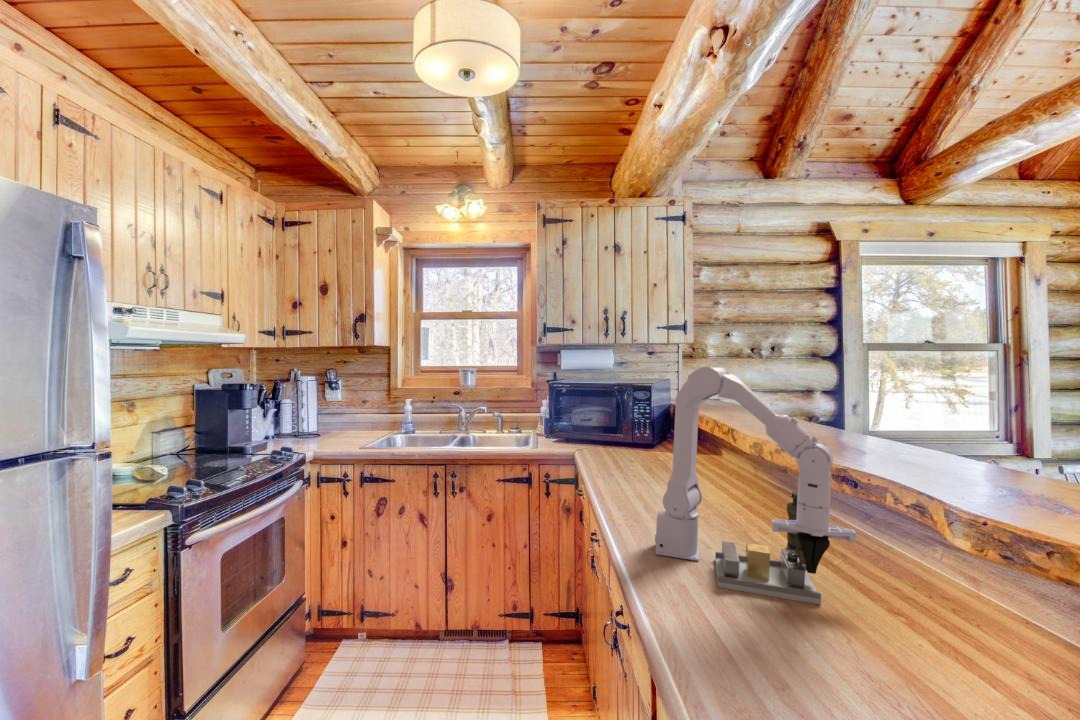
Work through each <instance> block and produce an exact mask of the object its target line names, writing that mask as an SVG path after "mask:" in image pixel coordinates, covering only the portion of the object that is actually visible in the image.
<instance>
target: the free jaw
mask: <svg viewBox="0 0 1080 720" xmlns="http://www.w3.org/2000/svg"><path fill="white" fill-rule="evenodd" d="M779 561H780V566H781V569H782V571H783V574H784V576H785V579H786V581H787V584H788V586H789V587H791V588H797V589H803V590H804V585H805V570H804V568H803V566H802V564H803V563H801V562H800V560H799V558H798V554H796V552H795V550H789V549H785V548H781V551H780V560H779Z"/></svg>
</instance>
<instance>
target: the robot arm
mask: <svg viewBox="0 0 1080 720" xmlns="http://www.w3.org/2000/svg"><path fill="white" fill-rule="evenodd" d="M717 395H718V396H717ZM714 396H717V397H719V398H724V399H729V400H733V401H735V402H736V403H738V404H739V405H740V406H741V407H743V408H744V409H745V410H747V412H749V413H750V414H752V415H753V416H754V417H755V418H756V419H757V420H758V421H759V422H761V423H762V424H763V425H765V433H766V435H767V436H768V437H769V439H771V440H772V441H773V442H774V443H776V444H777V445H778V446H779V447H780V448H781V449H783V450H784V451H785V452H786V453H787V454H788V455H789V456H790V457H792V458H795V461H796V466H797V467H798V469H799V473H798V474H799V475H798V479H797V492H798V493H797V517H796V520H789V519H774V518H771V527H770V528H771V531H772V532H773V533H774V532H775V533H779V532H784V533H788V532H789V533H796V536H797V538H798V540H799V543H800V545H801V548H802V551H803V555H804V559H805V563H804V565H806V571H807V573H808V574H812V575H813V574H814V575H815V574H817V570H818V566H819V563H820V561H821V560H822V557H823V555H824V554H825V553H826V551H827V550H828V549H829V548H830V544H831V543H830V542H831V541H830V540H829V539H835V540H842V541H843V540H844V541H848V542H850V543H856V541H857V532H856V531H855V530H854V529H852V528H847V527H841V526H837V525H832V524H830V521H831V520H830V515H831V500H832V499H831V495H832V494H831V493H832V492H831V491H832V483H831V478H832V474H831V468H832V464H833V461H834V455H833V452H832V451H831V449H830V447H828V445H827V444H826V443H824V442H822V441H819V438H818V437H817V436H816V435H813V436H812V435H811V433H809V432H807V430H805V429H804V428H803V427H802V426H800V425H799V423H800V421H799V419H797V418H796V417H795V416H793V417H790V416H789V415H787V414H778V413H776V412H775V411H774V410H773V409H772V408H771V407H770V406H769V405H768V404H767V403H765V402H764V400H762V399H761V398H760V397H759V396H758V395H757V394H756V393H755V392H754V391H753V390H751V389H750V388H749V387H748V385H746V384H745V383H744V382H743V381H742V380H740V378H738V376H736V375H734V374H732V373H730V372H729V371H728V369H726V368H725V367H722V366H719V365H717V366H716V365H715V366H711V367H710V366H702V367H698V368H697V369H696V370H694V371H693V372H691V373H690V374H688V375H687V380H686V381H685V382H684V384H683V386H682V387H681V388H680V390H679V391H678V393H677V394H676V396H675V409H674V410H675V411H674V428H673V429H674V433H673V435H674V436H673V454H672V456H673V457H672V473H671V474H670V477H669V478H668V479H669V480H668V481H667V489H666V492H665V493H664V494H663V497H662V506H663V508H664V510H663V511H662V510H658V511H657V516H656V527H655V528H656V529H655V531H656V532H655V537H654V543H655V555H660V556H665V557H672V558H676V559H684V560H690V561H697V562H698V561H700V546H699V545H698V535H699V534H698V533H699V511H698V509H697V507H698V506H699V505H701V502H702V499H703V495H702V490H701V489H700V485H699V477H698V475H697V456H698V455H697V453H698V452H697V451H698V433H699V432H698V431H699V410H700V409H699V407H700V406H701V405H702V404H704V403H705V402H707V401H708V400H710V398H711V397H714Z"/></svg>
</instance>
